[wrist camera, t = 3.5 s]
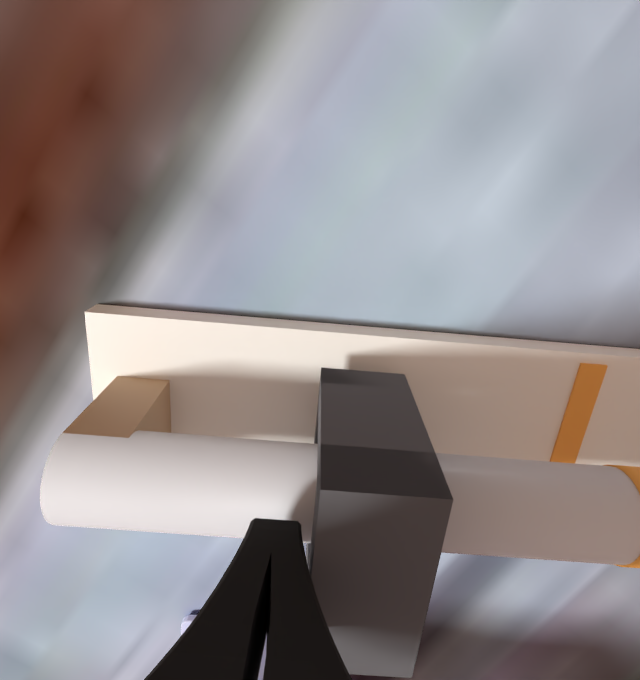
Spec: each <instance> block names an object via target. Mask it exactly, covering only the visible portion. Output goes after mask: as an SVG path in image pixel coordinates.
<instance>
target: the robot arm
mask: <svg viewBox="0 0 640 680" xmlns="http://www.w3.org/2000/svg"><path fill="white" fill-rule="evenodd" d="M144 680H352V679H351V677H350V675H349V672H348V670H347V668H346V666H345V664H344V662H343V660H342V658H341V656H340V654H339V651H338V649H337V647H336V645H335V643H334V640H333V638H332V635H331V633H330V631H329V628H328V626H327V623H326V621H325V618H324V615H323V612H322V610H321V607H320V604H319V601H318V598H317V595H316V592H315V589H314V586H313V582H312V579H311V576H310V572H309V569H308V565H307V560H306V556H305V552H304V546H303V540H302V530H301V524H300V523H299V522H298V521H291V520H276V519H262V518H255V519H253V520H252V521H251V522H250V525H249V527H248V530H247V532H246V534H245V537H244V539H243V541H242V543H241V545H240V547H239V549H238V551H237V553H236V554H235V556H234V558H233V560H232V562H231V563H230V565H229V567H228V568H227V570H226V572H225V573H224V575H223V577H222V578H221V580H220V582H219V583H218V585H217V586H216V588H215V589H214V591H213V592H212V594H211V595H210V597H209V598H208V600H207V601H206V603H205V604H204V606H203V607H202V609H201V610H200V612H199V613H198V614H197V615H188V616H185V617H184V618H183V621H182V624H181V637H180V638H179V639H178V641H177V642H176V643H175V644H174V646H173V647H172V648H171V649H170V650H169V652H168V653H167V654H166V655H165V656H164V657H163V659H162V660H161V661H160V662H159V663H158V664H157V666H156V667H155V668H154V669H153V670H152V671H151V672H150V674H149V675H148V676H147V677H146V678H145V679H144Z"/></svg>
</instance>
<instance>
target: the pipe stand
mask: <svg viewBox="0 0 640 680" xmlns="http://www.w3.org/2000/svg"><path fill="white" fill-rule="evenodd" d="M85 321H86V331H87V341H88V350H89V360H90V370H91V380H92V390H93V400H94V401H93V402H92V403H91V404H90V405H89V406H88V407H87V408H86V409H85V410H84V411H83V412H82V413H81V414H80V415H79V416H78V417H77V418H76V419H75V420H74V421H73V423H72V424H71V425H70V426H69V427H68V428H67V429H66V430H65V431H64V432H63V433H62V434H61V435H60V436H59V438H58V439H57V441H56V442H55V444H54V445H53V447H52V449H51V451H50V453H49V456H48V458H47V461H46V464H45V467H44V471H43V475H42V480H41V487H40V505H41V510H42V514H43V517H44V518H45V520H46V521H47V522H48V523H49V524H51V525H60V526H74V527H88V528H102V529H117V530H131V531H145V532H159V533H173V534H188V535H202V536H216V537H230V538H244V537H245V534H246V532H247V530H248V527H249V525H250V522H251V521H252V520H253V519H255V518H262V519H276V520H291V521H298V522H299V523H300V524H301V530H302V540H303V543H311V536H312V526H313V516H314V506H315V496H316V486H317V449H318V444H314V438H315V428H316V417H317V407H318V396H319V386H320V375H321V367H322V368H334V369H347V370H359V371H372V372H384V373H397V374H405V376H406V379H407V381H408V384H409V387H410V389H411V392H412V394H413V397H414V399H415V402H416V405H417V407H418V410H419V412H420V415H421V417H422V420H423V423H424V425H425V428H426V430H427V433H428V435H429V438H430V441H431V443H432V446H433V448H434V451H435V453H436V456H437V459H438V461H439V464H440V466H441V469H442V471H443V474H444V477H445V479H446V482H447V484H448V487H449V489H450V492H451V495H452V497H453V504H452V508H451V512H450V517H449V521H448V525H447V529H446V534H445V538H444V542H443V547H442V551H441V552H443V553H458V554H472V555H486V556H500V557H515V558H529V559H543V560H557V561H571V562H586V563H600V564H614V565H617V566H620V567H632V568H640V349H633V348H621V347H609V346H597V345H585V344H573V343H561V342H549V341H537V340H525V339H513V338H501V337H488V336H476V335H464V334H452V333H440V332H428V331H416V330H404V329H392V328H380V327H368V326H356V325H344V324H332V323H320V322H307V321H295V320H283V319H271V318H259V317H247V316H235V315H223V314H211V313H199V312H187V311H175V310H163V309H151V308H139V307H127V306H114V305H102V304H96V305H95V306H93V307H92V308H90V309H88V310H87V311H85Z"/></svg>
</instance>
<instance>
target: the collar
mask: <svg viewBox="0 0 640 680" xmlns="http://www.w3.org/2000/svg"><path fill="white" fill-rule="evenodd" d="M314 444H318V449H317V486H316V496H315V506H314V516H313V526H312V536H311V543H307V547H306V560H307V565H308V569H309V572H310V576H311V579H312V582H313V586H314V589H315V592H316V595H317V598H318V601H319V604H320V607H321V610H322V612H323V615H324V618H325V621H326V623H327V626H328V628H329V631H330V633H331V635H332V638H333V640H334V643H335V645H336V647H337V649H338V651H339V654H340V656H341V658H342V660H343V662H344V664H345V666H346V668H347V670H348V672H349V674H355V675H371V676H387V677H403V678H412V675H413V670H414V666H415V662H416V658H417V653H418V649H419V645H420V641H421V636H422V632H423V628H424V623H425V619H426V615H427V611H428V606H429V602H430V598H431V594H432V589H433V585H434V581H435V576H436V572H437V568H438V564H439V559H440V555H441V551H442V547H443V542H444V538H445V534H446V529H447V525H448V521H449V517H450V512H451V508H452V504H453V497H452V495H451V492H450V489H449V487H448V484H447V482H446V479H445V477H444V474H443V471H442V469H441V466H440V464H439V461H438V459H437V456H436V453H435V451H434V448H433V446H432V443H431V441H430V438H429V435H428V433H427V430H426V428H425V425H424V423H423V420H422V417H421V415H420V412H419V410H418V407H417V405H416V402H415V399H414V397H413V394H412V392H411V389H410V387H409V384H408V381H407V379H406V376H405V374H397V373H384V372H372V371H359V370H347V369H334V368H322V367H321V375H320V386H319V396H318V407H317V417H316V428H315V438H314Z"/></svg>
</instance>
